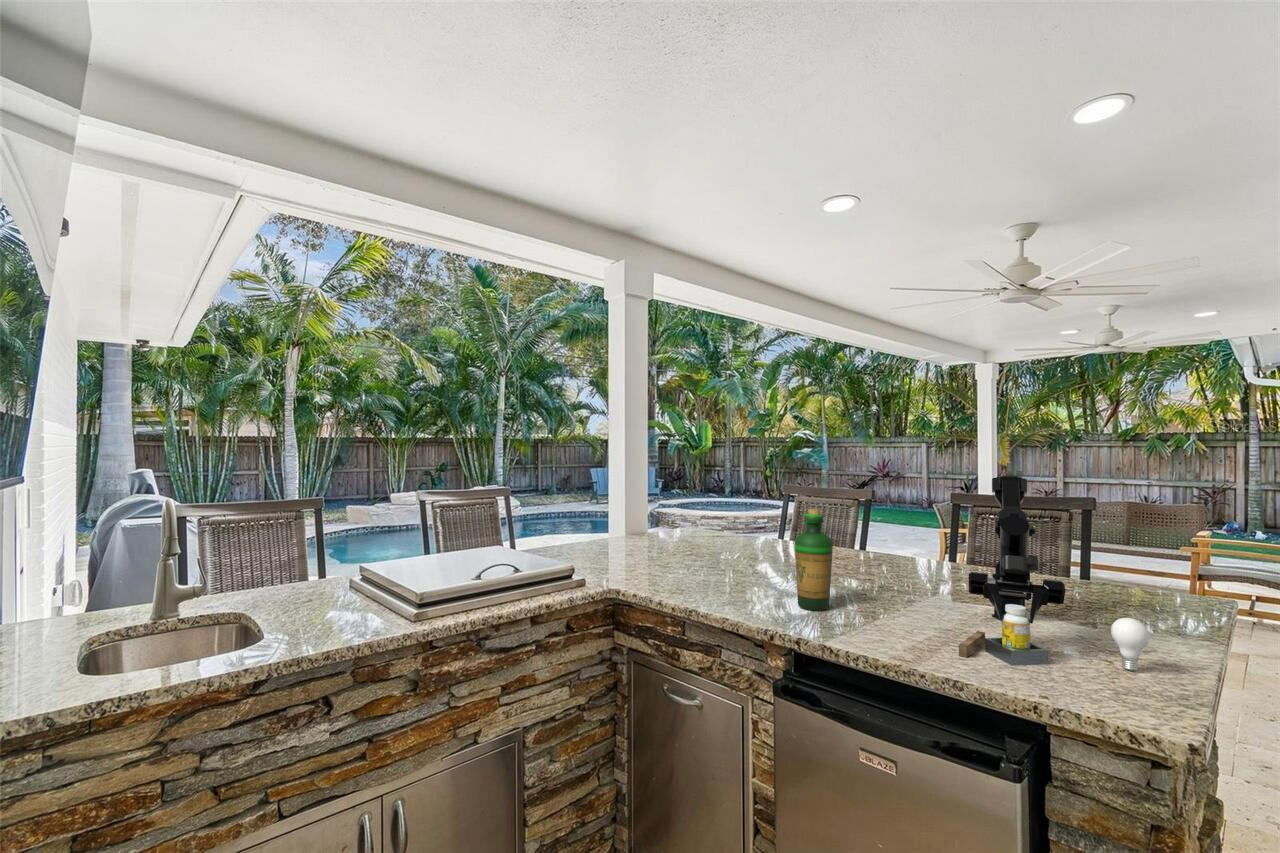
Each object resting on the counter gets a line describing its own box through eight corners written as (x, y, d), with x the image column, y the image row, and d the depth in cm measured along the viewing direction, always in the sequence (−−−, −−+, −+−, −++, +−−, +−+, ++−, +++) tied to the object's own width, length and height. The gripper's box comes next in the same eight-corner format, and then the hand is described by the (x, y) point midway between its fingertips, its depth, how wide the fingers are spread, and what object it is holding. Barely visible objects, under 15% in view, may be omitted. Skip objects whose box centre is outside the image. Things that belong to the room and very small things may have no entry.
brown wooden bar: (977, 641, 146) (977, 630, 146) (985, 643, 145) (985, 632, 145) (958, 655, 136) (958, 644, 136) (966, 657, 135) (966, 646, 135)
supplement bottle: (1034, 654, 133) (1034, 610, 133) (1007, 653, 134) (1007, 609, 134) (1024, 646, 138) (1023, 603, 138) (998, 644, 139) (998, 602, 139)
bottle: (791, 610, 172) (792, 510, 172) (796, 600, 182) (797, 506, 182) (831, 614, 168) (831, 512, 168) (834, 604, 178) (834, 508, 178)
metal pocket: (1020, 650, 140) (1020, 637, 140) (1048, 664, 132) (1048, 650, 132) (985, 651, 140) (984, 638, 140) (1011, 665, 131) (1011, 651, 131)
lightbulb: (1103, 665, 132) (1103, 614, 132) (1130, 664, 132) (1130, 613, 132) (1129, 676, 125) (1129, 623, 125) (1157, 676, 126) (1157, 622, 126)
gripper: (968, 537, 144) (967, 595, 134) (1064, 544, 135) (1070, 607, 125) (969, 564, 151) (968, 621, 141) (1060, 573, 142) (1066, 634, 132)
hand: (1016, 620), depth 135 cm, fingers closed on supplement bottle, 5 cm apart
